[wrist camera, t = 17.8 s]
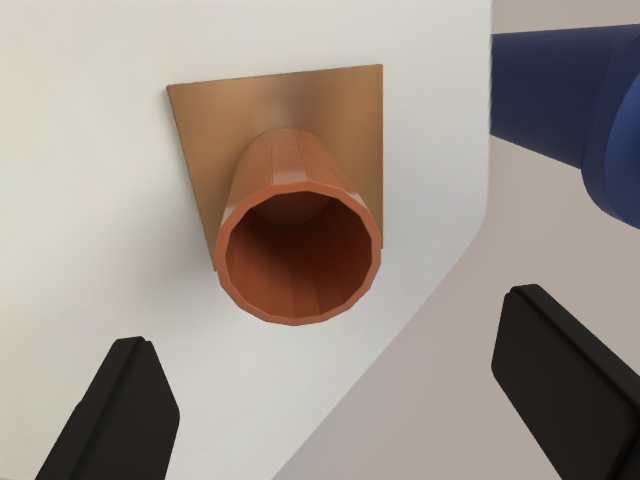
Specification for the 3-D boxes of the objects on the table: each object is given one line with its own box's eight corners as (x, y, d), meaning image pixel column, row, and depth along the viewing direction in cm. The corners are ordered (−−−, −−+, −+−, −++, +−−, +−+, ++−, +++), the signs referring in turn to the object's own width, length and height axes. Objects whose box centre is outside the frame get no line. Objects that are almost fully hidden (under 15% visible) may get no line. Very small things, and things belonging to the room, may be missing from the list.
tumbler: (335, 121, 22) (381, 171, 13) (341, 219, 25) (381, 313, 16) (226, 133, 21) (196, 193, 12) (246, 231, 24) (233, 335, 15)
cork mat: (380, 64, 21) (383, 64, 20) (380, 245, 27) (383, 249, 26) (168, 84, 20) (165, 85, 20) (215, 267, 26) (214, 271, 25)
